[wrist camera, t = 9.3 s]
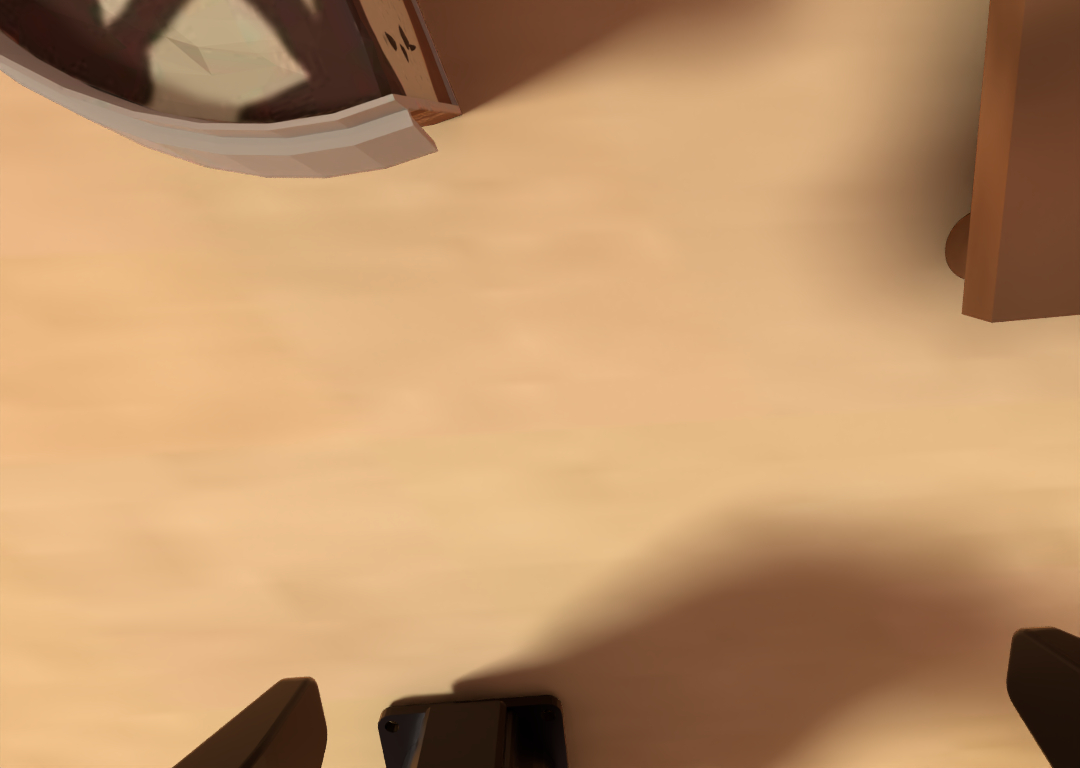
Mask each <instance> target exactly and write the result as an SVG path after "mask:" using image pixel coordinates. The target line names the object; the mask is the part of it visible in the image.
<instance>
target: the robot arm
mask: <svg viewBox="0 0 1080 768" xmlns="http://www.w3.org/2000/svg"><path fill="white" fill-rule="evenodd" d="M1006 684H1007V691H1008V694H1009V697H1010V699H1011V702H1012V703H1013V705H1014V707H1015V709H1016V710H1017V712H1018V713H1019V715H1020V717H1021V718H1022V720H1023V721H1024V723H1025V725H1026V726H1027V728H1028V730H1029V731H1030V733H1031V734H1032V736H1033V738H1034V739H1035V741H1036V742H1037V744H1038V746H1039V747H1040V749H1041V750H1042V752H1043V754H1044V755H1045V757H1046V759H1047V760H1048V762H1049V763H1050V765H1051V767H1052V768H1080V638H1079V637H1076V636H1074V635H1072V634H1069V633H1067V632H1065V631H1062V630H1060V629H1057V628H1055V627H1031V628H1021V629H1019V630H1017V631H1016V632H1015V633H1014V635H1013V637H1012V643H1011V650H1010V657H1009V664H1008V672H1007V679H1006ZM544 710H552V712H549V713H547V712H544ZM389 721H395V722H396V723H397V724H394V723H391V722H389ZM378 730H379V735H380V740H381V744H382V749H383V754H384V759H385V764H386V768H569V766H568V756H567V747H566V738H565V728H564V719H563V710H562V704H561V701H560V700H559V699H558V698H556V697H554V696H550V695H543V696H529V697H515V698H502V699H488V700H474V701H461V702H447V703H433V704H420V705H406V706H392V707H388V708H386V709H385V710H383V712H382V714H381V716H380V719H379V722H378ZM326 743H327V726H326V721H325V716H324V712H323V707H322V703H321V698H320V694H319V689H318V685H317V683H316V681H315V679H313V678H311V677H295V678H285V679H282V680H280V681H279V682H277V683H276V684H275V685H273V686H272V687H271V688H270V689H268V690H267V691H266V692H265V693H263V694H262V695H261V696H260V697H259V698H257V699H256V700H255V701H254V702H252V703H251V704H250V705H249V706H247V707H246V708H245V709H244V710H243V711H241V712H240V713H239V714H238V715H236V716H235V717H234V718H233V719H231V720H230V721H229V722H228V723H227V724H225V725H224V726H223V727H222V728H220V729H219V730H218V731H217V732H215V733H214V734H213V735H212V736H211V737H209V738H208V739H207V740H206V741H204V742H203V743H202V744H201V745H199V746H198V747H197V748H196V749H195V750H193V751H192V752H191V753H190V754H188V755H187V756H186V757H185V758H183V759H182V760H181V761H180V762H179V763H177V764H176V765H175V766H174V767H172V768H321V766H322V762H323V757H324V753H325V749H326Z"/></svg>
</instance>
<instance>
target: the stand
mask: <svg viewBox="0 0 1080 768" xmlns="http://www.w3.org/2000/svg"><path fill="white" fill-rule="evenodd" d="M945 256H946V261H947V263H948V266H949V267H950V269H951V270H952V271H953V273H955V274H956V275H957V276H959V277H960V278H963V279H965V283H964V294H963V305H962V314H964V315H968V316H971V317H974V318H978V319H981V320H984V321H988V322H991V323H993V322H1004V321H1015V320H1026V319H1037V318H1048V317H1059V316H1070V315H1080V0H990V7H989V18H988V29H987V40H986V51H985V62H984V73H983V84H982V95H981V106H980V117H979V128H978V139H977V150H976V162H975V173H974V184H973V195H972V206H971V213H970V214H968V215H966V216H965V217H964V218H962V219H961V220H960V221H959V222H958V223H957V224H956V225H955V226H954V228H953V229H952V231H951V232H950V234H949V236H948V239H947V242H946V247H945Z"/></svg>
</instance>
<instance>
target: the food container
mask: <svg viewBox="0 0 1080 768" xmlns="http://www.w3.org/2000/svg"><path fill="white" fill-rule="evenodd" d="M0 70H1V71H2V72H4V73H5V74H6V75H8V76H9V77H11V78H12V79H14V80H15V81H16V82H18V83H19V84H21V85H22V86H24V87H26V88H28V89H30V90H32V91H34V92H36V93H38V94H40V95H42V96H44V97H46V98H47V99H49V100H51V101H53V102H55V103H57V104H59V105H61V106H63V107H65V108H67V109H69V110H71V111H73V112H75V113H77V114H79V115H80V116H82V117H84V118H86V119H88V120H90V121H92V122H94V123H97V124H99V125H101V126H103V127H105V128H107V129H109V130H111V131H113V132H115V133H117V134H119V135H121V136H123V137H126V138H128V139H130V140H132V141H134V142H136V143H138V144H140V145H142V146H144V147H147V148H150V149H153V150H156V151H159V152H162V153H165V154H168V155H171V156H174V157H177V158H180V159H183V160H186V161H189V162H192V163H195V164H198V165H201V166H204V167H207V168H213V169H219V170H225V171H231V172H237V173H243V174H249V175H255V176H260V177H266V178H330V177H336V176H342V175H349V174H355V173H361V172H367V171H373V170H380V169H386V168H389V167H392V166H395V165H398V164H401V163H404V162H407V161H410V160H413V159H416V158H419V157H422V156H425V155H428V154H431V153H434V152H437V151H438V150H437V147H436V145H435V142H434V141H433V140H432V139H431V137H430V136H429V135H428V134H427V133H426V132H425V131H424V130H423V129H422V127H423V126H429V125H434V124H437V123H440V122H442V121H445V120H448V119H451V118H454V117H457V116H460V115H462V113H461V110H460V108H459V105H458V103H457V100H456V98H455V95H454V93H453V90H452V88H451V85H450V83H449V80H448V78H447V75H446V73H445V70H444V68H443V65H442V63H441V60H440V58H439V55H438V53H437V50H436V48H435V45H434V43H433V40H432V38H431V35H430V33H429V31H428V28H427V26H426V23H425V21H424V18H423V16H422V13H421V11H420V8H419V6H418V3H417V1H416V0H0Z"/></svg>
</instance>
